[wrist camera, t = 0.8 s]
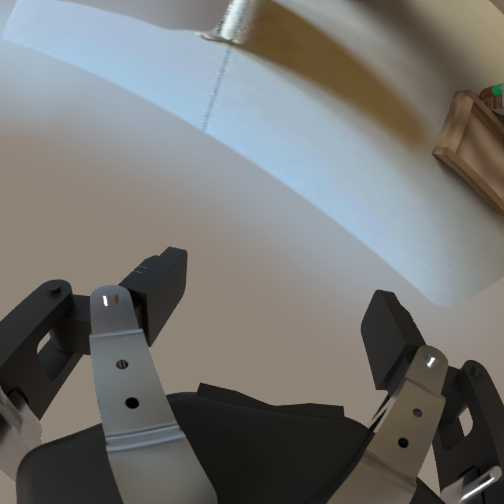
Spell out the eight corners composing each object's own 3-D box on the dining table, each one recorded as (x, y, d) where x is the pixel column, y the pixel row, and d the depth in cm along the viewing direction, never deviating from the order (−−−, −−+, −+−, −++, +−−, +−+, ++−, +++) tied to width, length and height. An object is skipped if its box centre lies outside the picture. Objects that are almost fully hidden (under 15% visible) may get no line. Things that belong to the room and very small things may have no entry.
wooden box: (455, 92, 26) (469, 89, 22) (517, 158, 27) (532, 161, 23) (432, 153, 30) (446, 155, 27) (497, 212, 31) (511, 219, 27)
